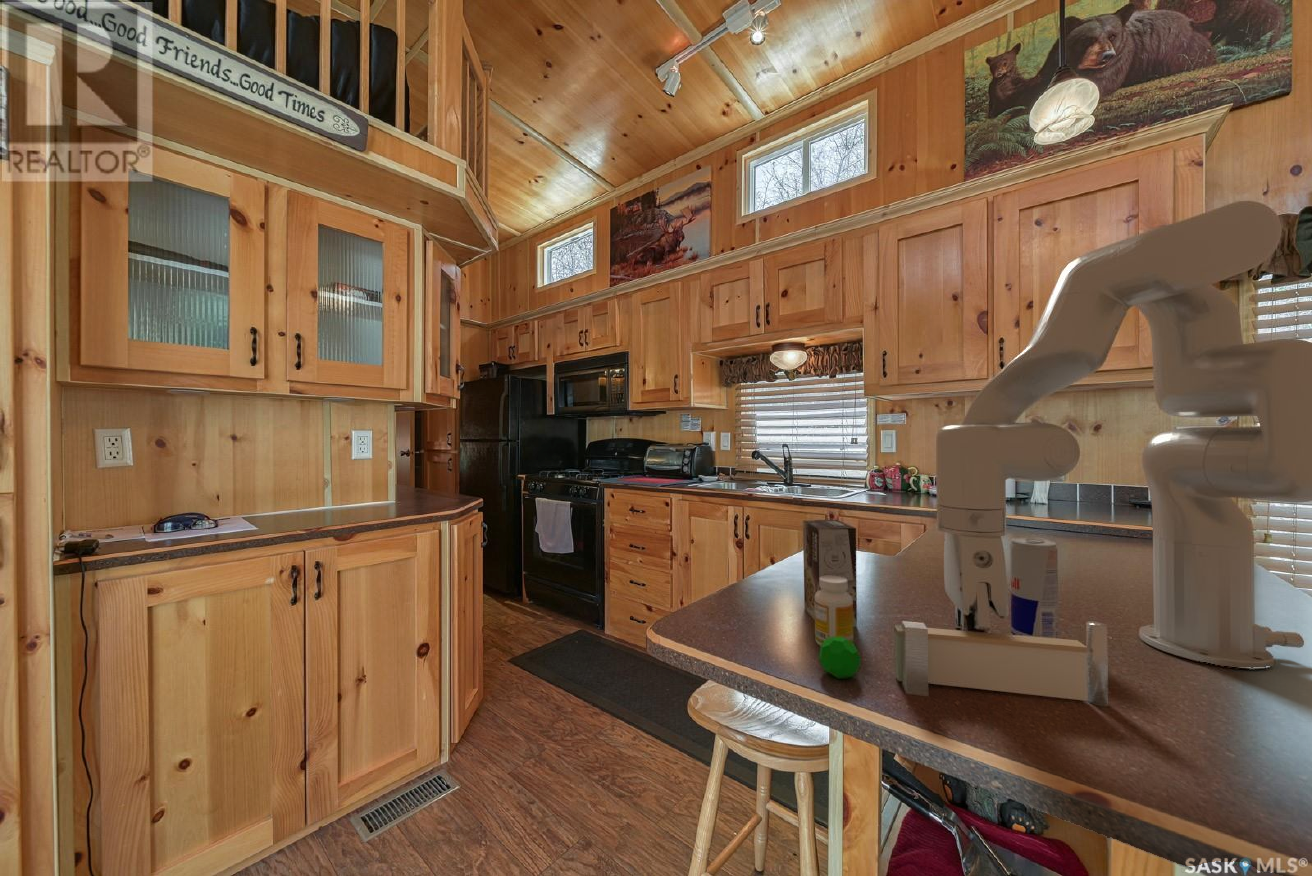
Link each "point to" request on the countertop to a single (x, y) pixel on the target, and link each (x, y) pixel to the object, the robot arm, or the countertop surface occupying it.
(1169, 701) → the countertop surface
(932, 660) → the gate
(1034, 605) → the beverage can
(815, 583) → the coffee box
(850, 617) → the supplement bottle
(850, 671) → the polyhedron
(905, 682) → the gate frame
